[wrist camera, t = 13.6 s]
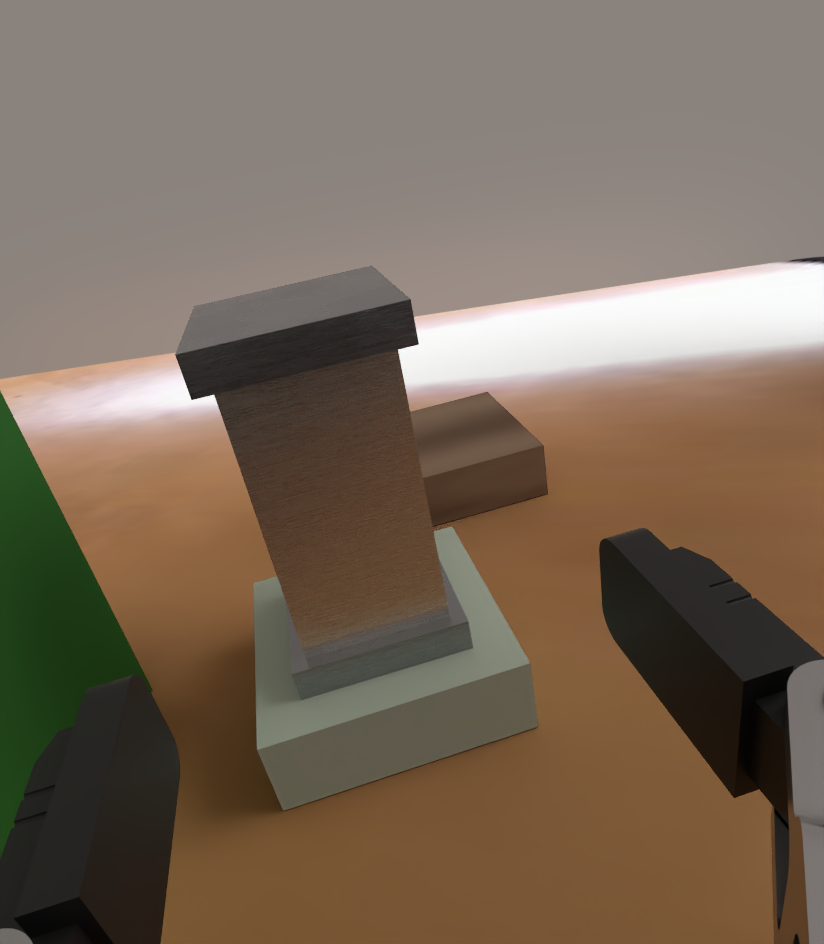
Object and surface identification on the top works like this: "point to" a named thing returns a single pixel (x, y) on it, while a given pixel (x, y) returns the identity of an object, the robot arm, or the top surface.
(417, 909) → the top surface
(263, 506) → the grey square pedestal
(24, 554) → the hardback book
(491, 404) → the walnut stand
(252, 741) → the top surface
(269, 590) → the green stand
